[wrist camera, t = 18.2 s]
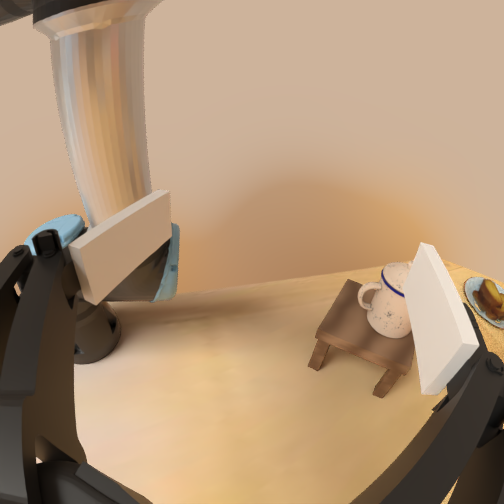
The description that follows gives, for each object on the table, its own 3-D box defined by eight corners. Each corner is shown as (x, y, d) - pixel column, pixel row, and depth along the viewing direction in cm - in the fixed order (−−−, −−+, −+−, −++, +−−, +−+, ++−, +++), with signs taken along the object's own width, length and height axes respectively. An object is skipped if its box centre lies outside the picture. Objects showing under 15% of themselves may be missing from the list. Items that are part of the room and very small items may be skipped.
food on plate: (529, 325, 49) (501, 331, 45) (507, 340, 57) (475, 348, 54) (505, 264, 64) (473, 255, 61) (487, 280, 72) (452, 275, 69)
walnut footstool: (304, 366, 45) (317, 328, 40) (335, 316, 57) (347, 278, 52) (383, 401, 38) (410, 367, 33) (400, 343, 50) (420, 307, 45)
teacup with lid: (404, 306, 45) (427, 252, 39) (417, 341, 37) (449, 284, 31) (345, 300, 46) (364, 241, 40) (352, 338, 38) (378, 275, 32)
